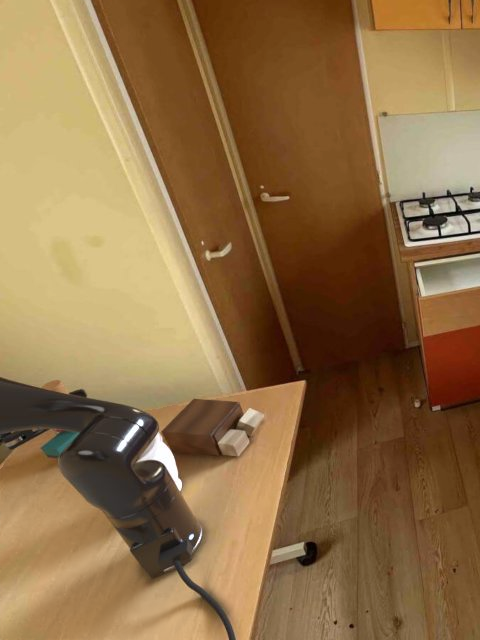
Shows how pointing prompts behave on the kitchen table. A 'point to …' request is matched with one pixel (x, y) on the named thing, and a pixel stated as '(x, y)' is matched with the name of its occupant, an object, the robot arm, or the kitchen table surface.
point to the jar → (162, 457)
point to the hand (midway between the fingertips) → (83, 398)
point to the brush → (64, 437)
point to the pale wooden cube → (233, 442)
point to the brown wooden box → (202, 426)
